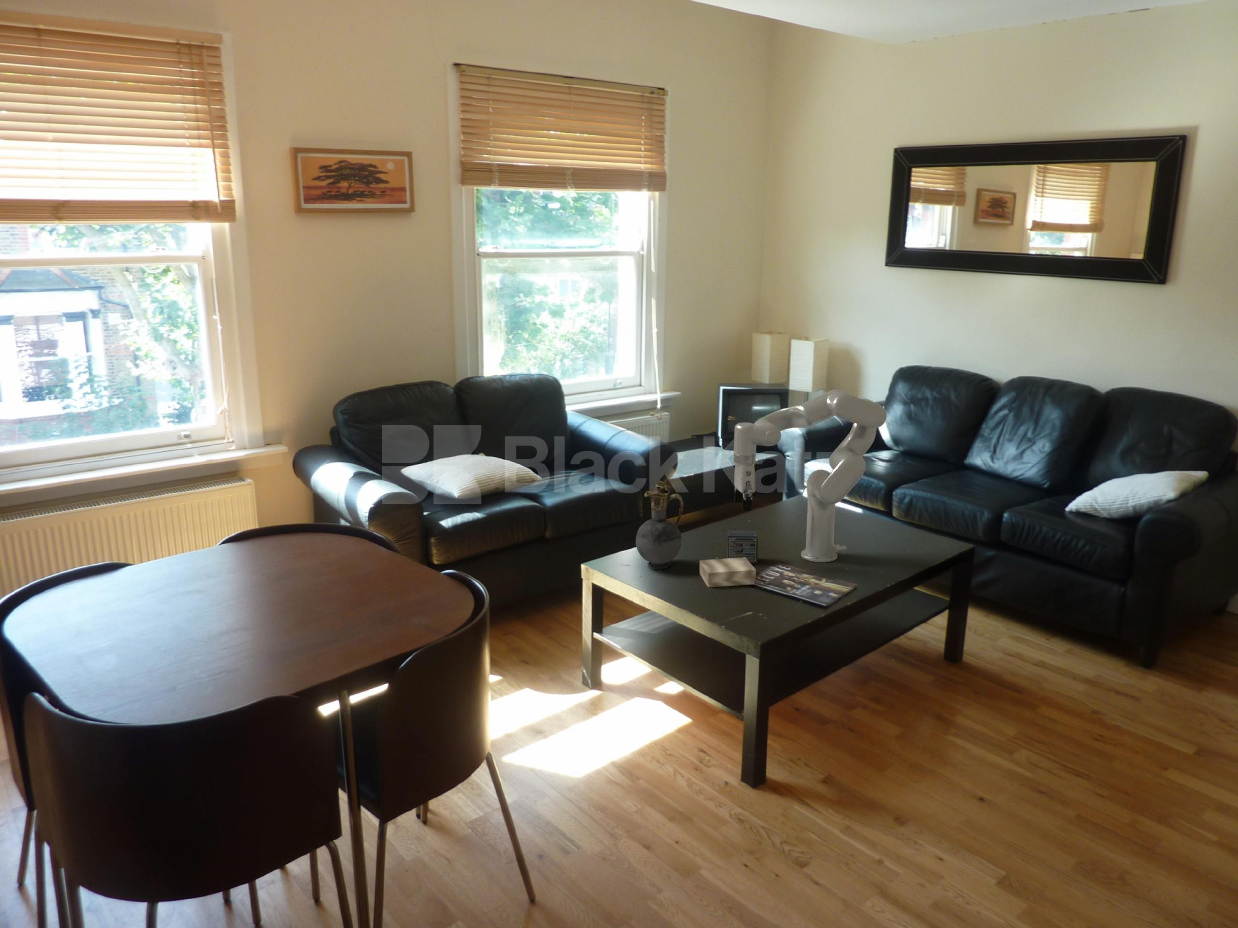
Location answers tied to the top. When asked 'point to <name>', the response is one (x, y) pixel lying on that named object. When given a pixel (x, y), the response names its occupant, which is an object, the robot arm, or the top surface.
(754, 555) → the small box
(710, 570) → the birch riser
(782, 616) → the top surface
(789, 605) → the top surface
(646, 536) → the pitcher
